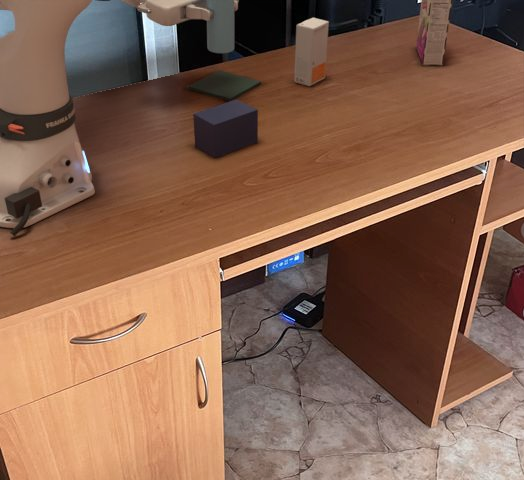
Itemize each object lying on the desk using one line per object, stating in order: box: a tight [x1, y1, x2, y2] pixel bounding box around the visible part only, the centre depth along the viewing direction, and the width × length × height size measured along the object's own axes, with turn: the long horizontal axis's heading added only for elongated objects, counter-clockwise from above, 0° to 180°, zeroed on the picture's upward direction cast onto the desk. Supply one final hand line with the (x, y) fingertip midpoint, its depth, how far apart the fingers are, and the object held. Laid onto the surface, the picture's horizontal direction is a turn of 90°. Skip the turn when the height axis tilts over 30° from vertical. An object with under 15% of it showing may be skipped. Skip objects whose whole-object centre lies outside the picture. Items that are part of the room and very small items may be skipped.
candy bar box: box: [415, 0, 453, 67], centre depth 173 cm, size 11×5×16 cm, turn 179°
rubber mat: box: [187, 69, 262, 102], centre depth 165 cm, size 11×11×1 cm
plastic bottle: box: [206, 0, 235, 54], centre depth 146 cm, size 14×5×14 cm
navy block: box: [192, 98, 259, 159], centre depth 142 cm, size 6×10×6 cm, turn 130°
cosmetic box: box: [293, 17, 330, 87], centre depth 164 cm, size 6×4×12 cm
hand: (223, 11), depth 146 cm, fingers closed on plastic bottle, 5 cm apart
